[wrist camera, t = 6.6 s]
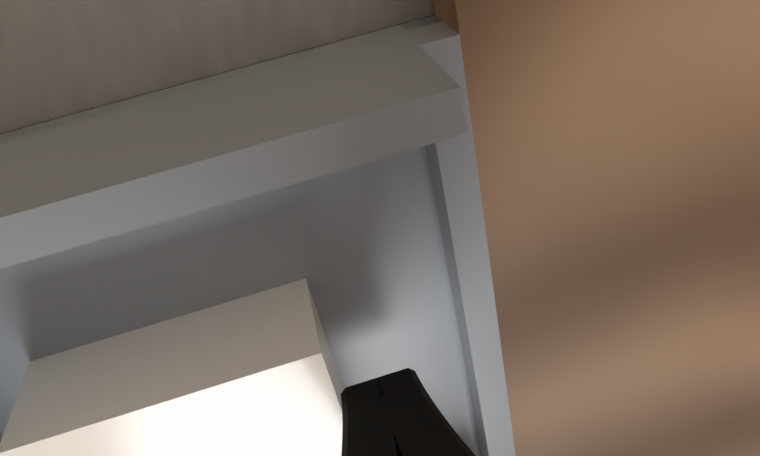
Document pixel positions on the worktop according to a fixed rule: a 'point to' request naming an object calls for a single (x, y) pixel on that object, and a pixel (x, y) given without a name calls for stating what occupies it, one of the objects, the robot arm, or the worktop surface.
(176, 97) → the box
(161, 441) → the tile
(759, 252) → the board
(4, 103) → the worktop surface
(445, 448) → the robot arm
